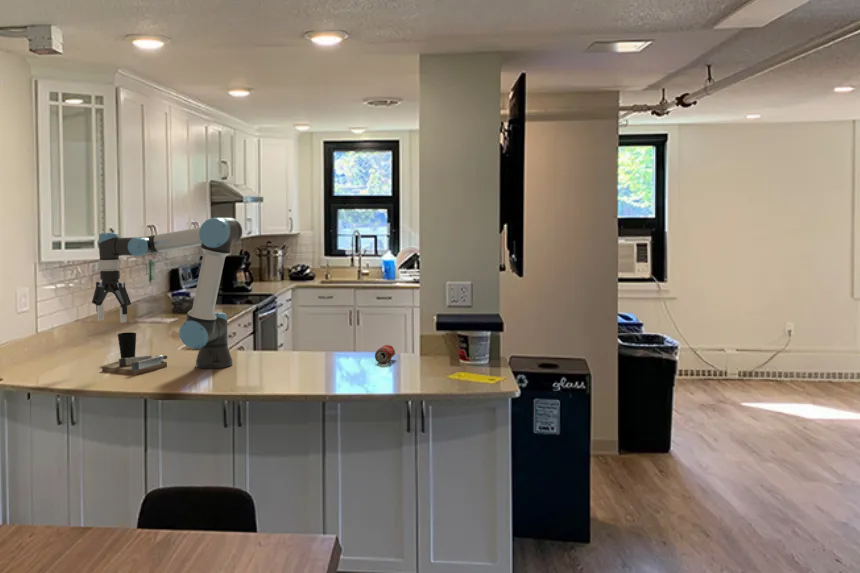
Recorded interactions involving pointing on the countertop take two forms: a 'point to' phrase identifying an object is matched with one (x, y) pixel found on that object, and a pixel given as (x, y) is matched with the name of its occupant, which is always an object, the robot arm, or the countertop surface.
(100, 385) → the countertop surface
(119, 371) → the board
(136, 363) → the tongs fixed
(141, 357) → the tong arm
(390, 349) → the beverage can
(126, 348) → the cup
